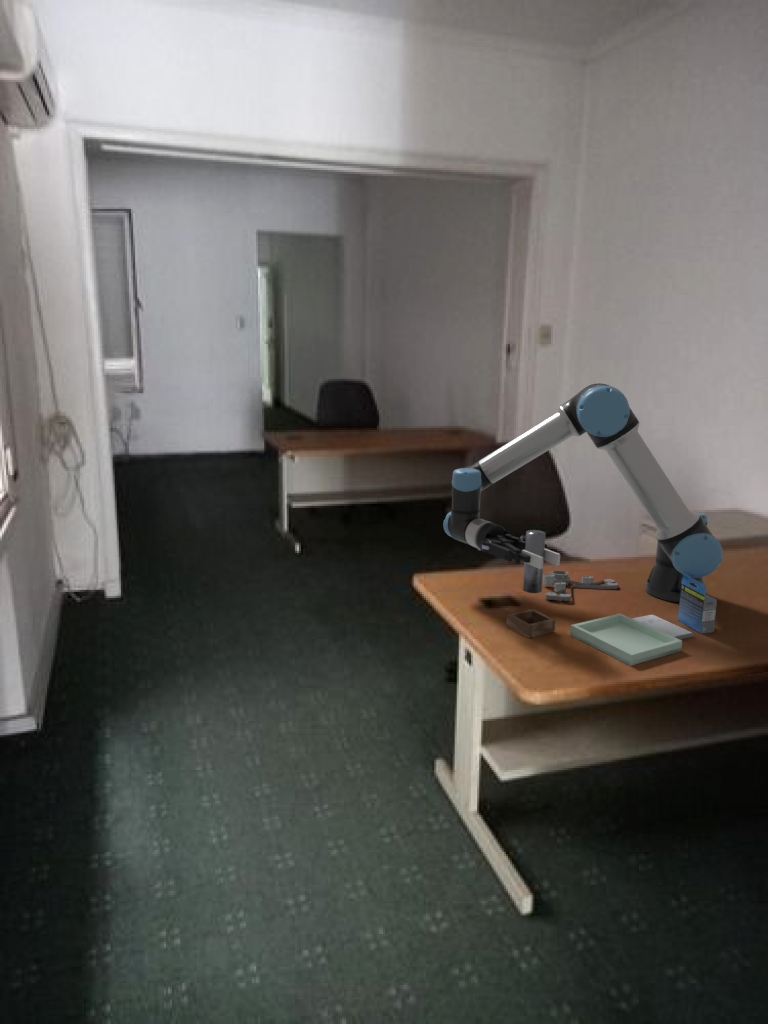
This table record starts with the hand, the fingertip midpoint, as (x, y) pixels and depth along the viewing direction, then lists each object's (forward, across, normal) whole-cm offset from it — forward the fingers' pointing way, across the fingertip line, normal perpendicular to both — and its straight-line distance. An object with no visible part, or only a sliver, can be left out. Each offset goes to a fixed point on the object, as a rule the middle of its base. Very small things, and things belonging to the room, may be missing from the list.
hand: (550, 561), depth 158 cm
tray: (+11, -14, -19) cm, 26 cm away
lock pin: (-5, 0, -8) cm, 10 cm away
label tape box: (+12, -37, -19) cm, 43 cm away
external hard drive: (+9, -28, -19) cm, 35 cm away
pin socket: (-5, 0, -18) cm, 19 cm away
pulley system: (-22, -30, -19) cm, 42 cm away
